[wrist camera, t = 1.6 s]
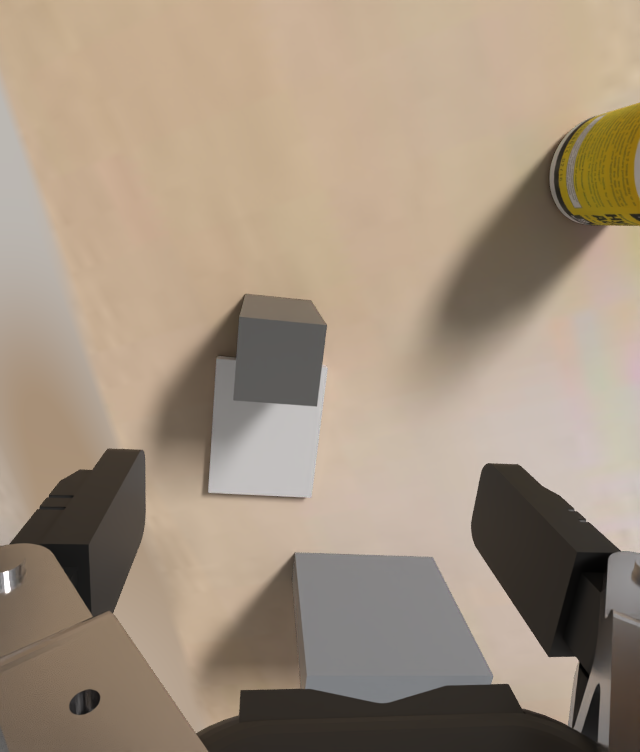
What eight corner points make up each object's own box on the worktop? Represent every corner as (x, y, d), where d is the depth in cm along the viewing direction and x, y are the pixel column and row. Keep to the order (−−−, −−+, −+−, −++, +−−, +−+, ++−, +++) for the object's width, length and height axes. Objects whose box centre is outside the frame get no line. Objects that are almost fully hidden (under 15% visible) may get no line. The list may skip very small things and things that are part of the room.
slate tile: (291, 581, 32) (301, 712, 23) (295, 552, 31) (306, 675, 23) (426, 584, 33) (484, 710, 24) (432, 556, 32) (493, 675, 24)
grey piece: (209, 487, 29) (193, 564, 23) (221, 291, 26) (206, 313, 19) (310, 492, 30) (323, 568, 23) (333, 302, 27) (357, 328, 20)
